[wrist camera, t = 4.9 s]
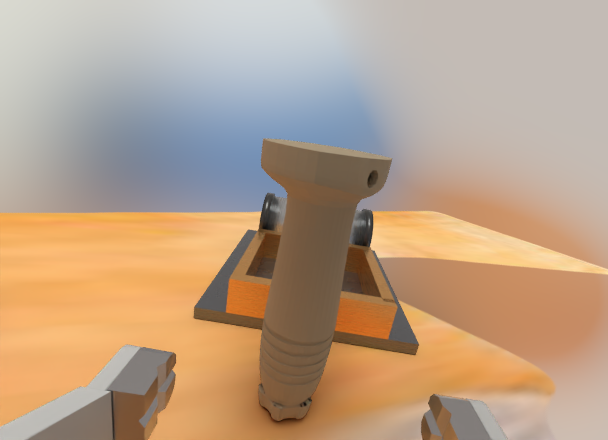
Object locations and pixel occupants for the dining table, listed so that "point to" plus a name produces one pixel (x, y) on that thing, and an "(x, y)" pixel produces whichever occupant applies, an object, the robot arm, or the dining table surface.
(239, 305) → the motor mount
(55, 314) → the dining table surface
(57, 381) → the dining table surface
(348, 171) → the handle
